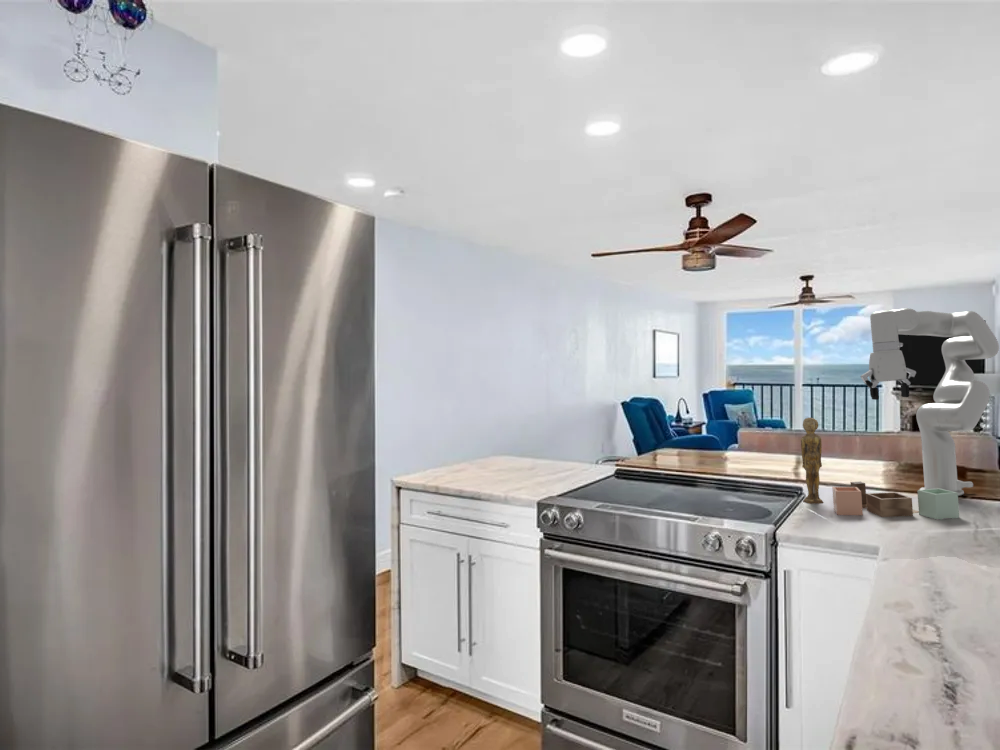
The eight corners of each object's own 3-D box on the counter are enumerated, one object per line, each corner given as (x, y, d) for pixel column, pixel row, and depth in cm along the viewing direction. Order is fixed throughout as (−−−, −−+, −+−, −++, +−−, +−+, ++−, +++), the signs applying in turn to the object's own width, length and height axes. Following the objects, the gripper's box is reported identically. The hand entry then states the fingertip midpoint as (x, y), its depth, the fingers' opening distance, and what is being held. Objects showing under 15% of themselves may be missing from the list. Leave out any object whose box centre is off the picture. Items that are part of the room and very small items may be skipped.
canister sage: (940, 514, 187) (938, 488, 187) (959, 519, 180) (957, 492, 180) (919, 516, 186) (917, 490, 186) (937, 521, 179) (935, 494, 179)
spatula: (878, 505, 202) (878, 503, 202) (889, 504, 203) (888, 502, 203) (910, 515, 188) (910, 512, 188) (921, 514, 188) (921, 511, 188)
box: (896, 510, 194) (895, 492, 194) (913, 517, 185) (911, 498, 185) (867, 512, 195) (865, 493, 195) (881, 518, 186) (880, 499, 186)
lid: (866, 503, 208) (865, 479, 208) (882, 509, 198) (880, 484, 198) (837, 504, 208) (836, 480, 208) (851, 511, 199) (849, 485, 199)
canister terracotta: (858, 511, 196) (856, 487, 196) (862, 517, 190) (861, 491, 190) (833, 511, 199) (832, 486, 199) (837, 516, 192) (835, 491, 192)
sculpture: (820, 501, 213) (814, 416, 213) (828, 505, 207) (822, 417, 207) (800, 502, 214) (794, 417, 214) (807, 506, 208) (801, 418, 208)
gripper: (906, 345, 208) (910, 395, 208) (853, 350, 209) (857, 399, 209) (919, 344, 200) (924, 396, 201) (864, 349, 202) (869, 401, 202)
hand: (890, 398), depth 205 cm, fingers open, 9 cm apart
